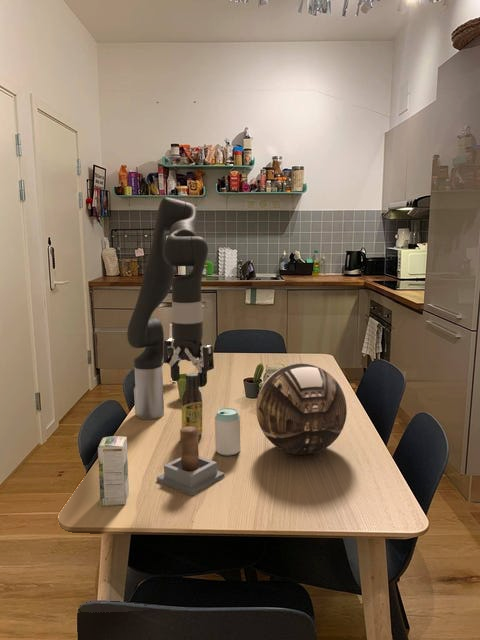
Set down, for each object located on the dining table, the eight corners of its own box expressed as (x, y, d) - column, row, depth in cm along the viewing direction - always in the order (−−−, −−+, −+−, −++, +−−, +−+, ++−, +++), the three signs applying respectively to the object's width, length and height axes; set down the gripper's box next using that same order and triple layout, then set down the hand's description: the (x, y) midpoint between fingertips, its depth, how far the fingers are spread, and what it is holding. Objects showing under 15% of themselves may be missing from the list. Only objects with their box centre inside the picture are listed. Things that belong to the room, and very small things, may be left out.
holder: (157, 480, 127) (156, 465, 126) (190, 463, 136) (190, 449, 135) (191, 495, 119) (190, 480, 119) (224, 476, 128) (224, 461, 128)
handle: (177, 475, 127) (175, 430, 125) (190, 468, 131) (188, 425, 129) (190, 481, 124) (188, 435, 122) (203, 474, 128) (201, 429, 126)
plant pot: (170, 401, 187) (169, 378, 185) (182, 393, 195) (182, 371, 194) (193, 404, 183) (192, 381, 182) (204, 396, 192) (204, 374, 190)
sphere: (327, 430, 157) (329, 352, 153) (360, 466, 133) (362, 374, 129) (249, 436, 153) (248, 356, 149) (267, 475, 129) (267, 380, 125)
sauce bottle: (186, 443, 149) (184, 378, 146) (178, 435, 155) (176, 373, 151) (206, 438, 152) (205, 375, 149) (198, 431, 158) (196, 370, 154)
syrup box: (104, 493, 121) (101, 436, 118) (129, 492, 121) (126, 435, 119) (100, 506, 115) (96, 446, 113) (126, 505, 116) (123, 445, 113)
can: (231, 458, 138) (231, 417, 136) (210, 453, 142) (209, 412, 140) (245, 449, 144) (244, 409, 142) (224, 444, 148) (223, 405, 146)
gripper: (219, 320, 122) (220, 384, 125) (175, 314, 130) (177, 375, 133) (200, 325, 116) (201, 392, 119) (155, 318, 124) (157, 382, 127)
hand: (188, 383), depth 126 cm, fingers open, 8 cm apart
